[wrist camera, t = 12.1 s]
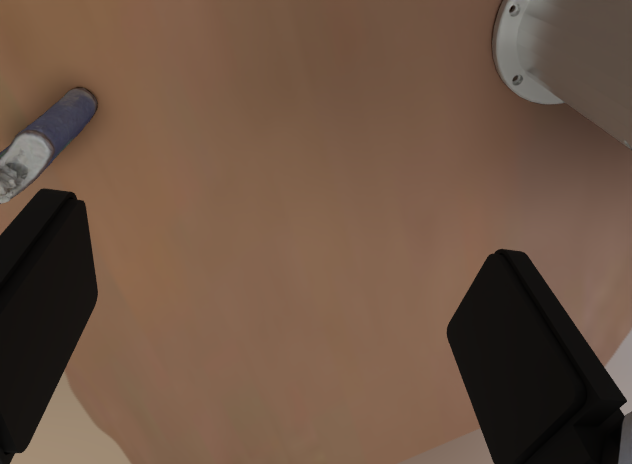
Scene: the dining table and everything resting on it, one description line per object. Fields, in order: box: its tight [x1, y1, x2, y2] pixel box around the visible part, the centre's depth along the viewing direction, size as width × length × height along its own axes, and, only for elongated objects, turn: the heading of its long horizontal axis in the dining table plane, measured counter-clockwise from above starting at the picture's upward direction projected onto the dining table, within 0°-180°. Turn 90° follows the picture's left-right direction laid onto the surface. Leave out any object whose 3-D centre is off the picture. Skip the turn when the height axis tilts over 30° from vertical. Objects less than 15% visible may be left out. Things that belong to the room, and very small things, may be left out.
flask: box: [0, 88, 98, 204], centre depth 32 cm, size 9×3×11 cm, turn 124°
